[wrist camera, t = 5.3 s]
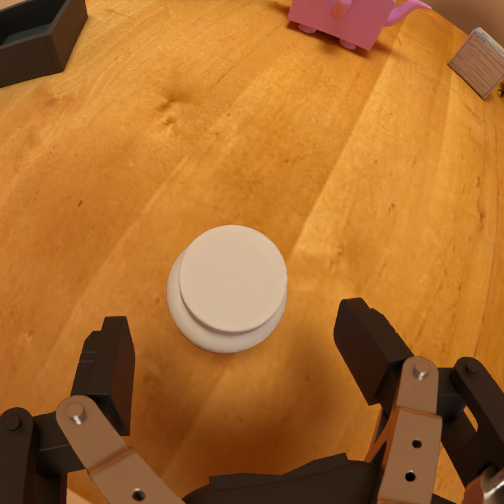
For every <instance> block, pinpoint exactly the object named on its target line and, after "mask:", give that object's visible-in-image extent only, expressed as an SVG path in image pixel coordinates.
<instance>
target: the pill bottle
mask: <svg viewBox="0 0 504 504" xmlns="http://www.w3.org/2000/svg"><path fill="white" fill-rule="evenodd" d="M287 287H288V272H287V268H286V264H285V261H284V259H283V257H282V255H281V253H280V251H279V250H278V248H277V247H276V246H275V244H274V243H273V242H272V241H271V240H270V239H268V238H267V237H266V236H265V235H263V234H262V233H260V232H258V231H256V230H254V229H252V228H248V227H244V226H240V225H224V226H219V227H216V228H212V229H210V230H208V231H206V232H204V233H202V234H201V235H200V236H198V237H197V238H196V239H195V240H194V241H193V242H192V243H191V244H190V245H189V246H188V247H187V248H186V249H185V250H184V251H183V252H182V253H181V254H180V255H179V256H178V258H177V259H176V261H175V262H174V264H173V266H172V268H171V271H170V273H169V277H168V282H167V291H166V294H167V303H168V308H169V311H170V314H171V317H172V319H173V321H174V323H175V325H176V326H177V327H178V329H179V330H180V331H181V332H182V334H183V335H184V336H185V337H186V338H187V339H188V340H189V341H190V342H191V343H192V344H194V345H195V346H197V347H199V348H200V349H203V350H205V351H209V352H215V353H234V352H241V351H244V350H247V349H249V348H251V347H253V346H255V345H257V344H259V343H260V342H262V341H263V340H264V339H266V338H267V337H268V336H269V335H270V334H271V333H272V332H273V331H274V329H275V328H276V327H277V325H278V324H279V322H280V320H281V318H282V315H283V313H284V309H285V305H286V298H287Z"/></svg>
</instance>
